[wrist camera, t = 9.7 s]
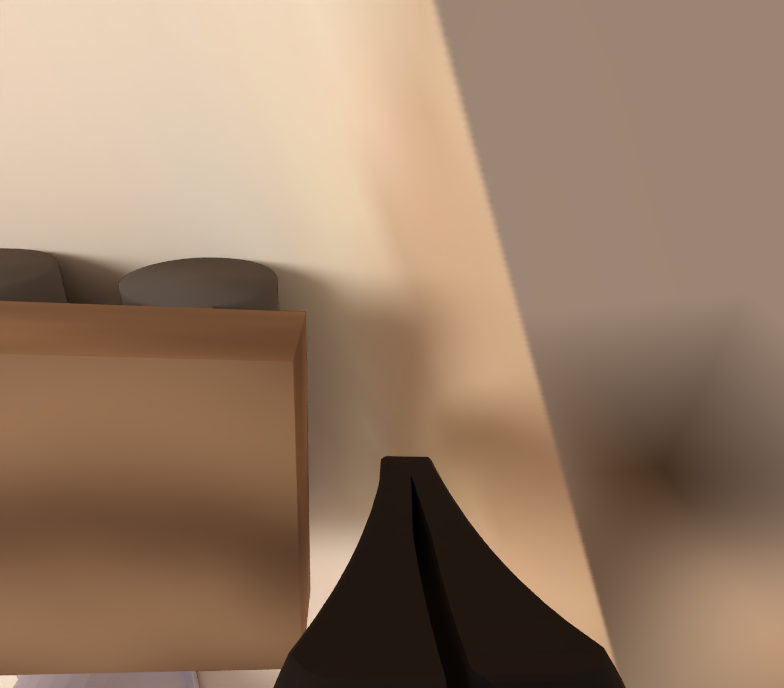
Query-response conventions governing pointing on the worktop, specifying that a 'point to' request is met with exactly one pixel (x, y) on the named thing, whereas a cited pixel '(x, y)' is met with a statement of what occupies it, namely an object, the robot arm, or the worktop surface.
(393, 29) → the worktop surface
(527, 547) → the worktop surface
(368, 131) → the worktop surface
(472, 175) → the worktop surface
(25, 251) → the roller bed
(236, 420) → the slab
